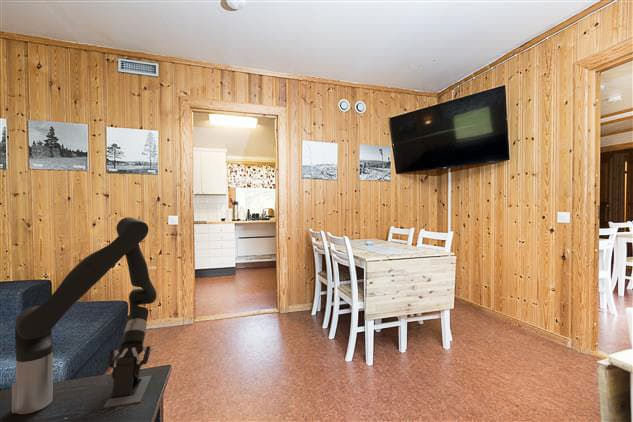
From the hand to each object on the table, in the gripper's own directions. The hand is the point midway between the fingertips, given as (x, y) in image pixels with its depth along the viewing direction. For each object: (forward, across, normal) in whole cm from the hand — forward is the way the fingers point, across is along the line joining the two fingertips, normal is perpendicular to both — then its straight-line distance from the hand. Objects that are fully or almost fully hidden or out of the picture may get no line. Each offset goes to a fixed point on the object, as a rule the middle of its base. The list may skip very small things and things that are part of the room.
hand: (125, 377), depth 110 cm
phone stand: (+3, 0, +5) cm, 6 cm away
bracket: (+4, +2, +4) cm, 6 cm away
